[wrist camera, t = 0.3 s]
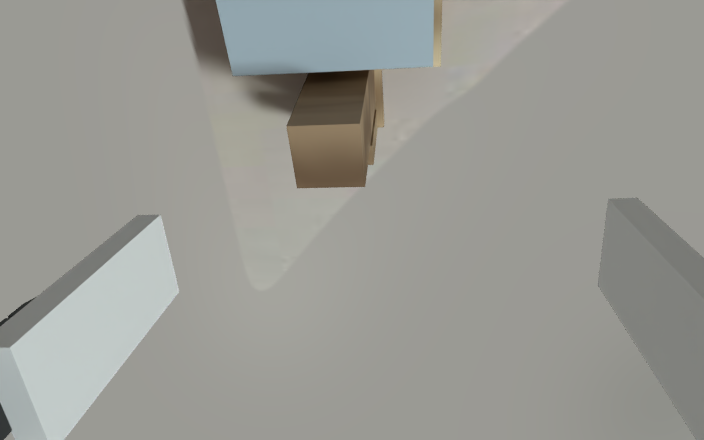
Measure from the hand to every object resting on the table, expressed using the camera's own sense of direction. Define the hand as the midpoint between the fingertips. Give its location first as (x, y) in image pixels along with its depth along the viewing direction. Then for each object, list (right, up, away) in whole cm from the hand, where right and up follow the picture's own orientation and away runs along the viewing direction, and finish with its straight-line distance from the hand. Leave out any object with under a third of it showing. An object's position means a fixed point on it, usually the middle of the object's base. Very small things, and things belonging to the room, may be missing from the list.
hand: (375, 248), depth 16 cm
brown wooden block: (-1, +11, +23) cm, 26 cm away
